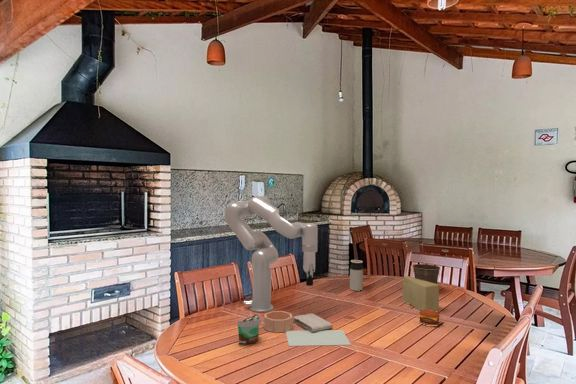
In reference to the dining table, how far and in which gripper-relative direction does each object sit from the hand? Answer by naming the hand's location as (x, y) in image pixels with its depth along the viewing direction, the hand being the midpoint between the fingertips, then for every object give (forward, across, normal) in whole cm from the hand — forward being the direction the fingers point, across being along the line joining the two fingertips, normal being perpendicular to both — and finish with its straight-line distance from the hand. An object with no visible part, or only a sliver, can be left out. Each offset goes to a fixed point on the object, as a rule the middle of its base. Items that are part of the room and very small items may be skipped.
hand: (309, 285), depth 199 cm
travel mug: (+16, -48, +36) cm, 63 cm away
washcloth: (+16, +12, 0) cm, 20 cm away
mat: (+16, +27, 0) cm, 31 cm away
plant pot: (+17, -41, +78) cm, 90 cm away
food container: (+16, +30, -28) cm, 44 cm away
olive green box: (+17, -14, +61) cm, 65 cm away
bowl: (+16, +14, -16) cm, 27 cm away
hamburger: (+17, +12, +56) cm, 60 cm away
